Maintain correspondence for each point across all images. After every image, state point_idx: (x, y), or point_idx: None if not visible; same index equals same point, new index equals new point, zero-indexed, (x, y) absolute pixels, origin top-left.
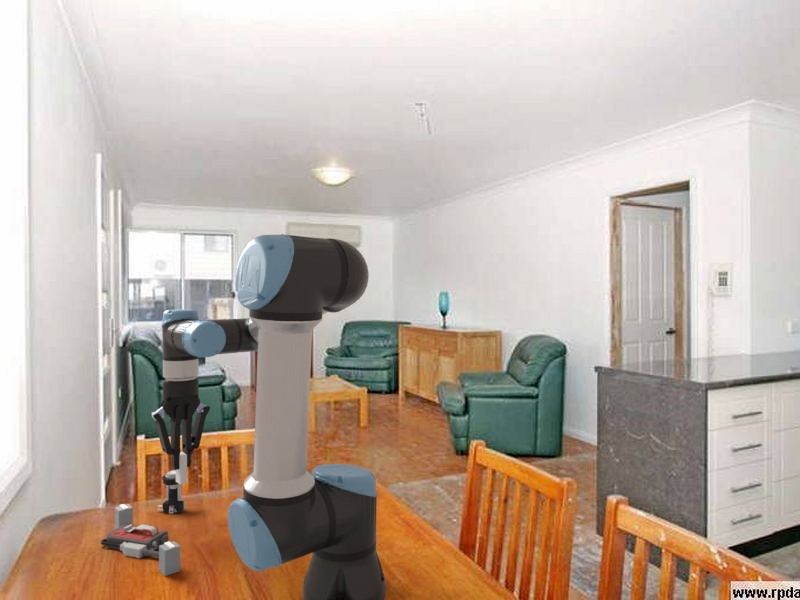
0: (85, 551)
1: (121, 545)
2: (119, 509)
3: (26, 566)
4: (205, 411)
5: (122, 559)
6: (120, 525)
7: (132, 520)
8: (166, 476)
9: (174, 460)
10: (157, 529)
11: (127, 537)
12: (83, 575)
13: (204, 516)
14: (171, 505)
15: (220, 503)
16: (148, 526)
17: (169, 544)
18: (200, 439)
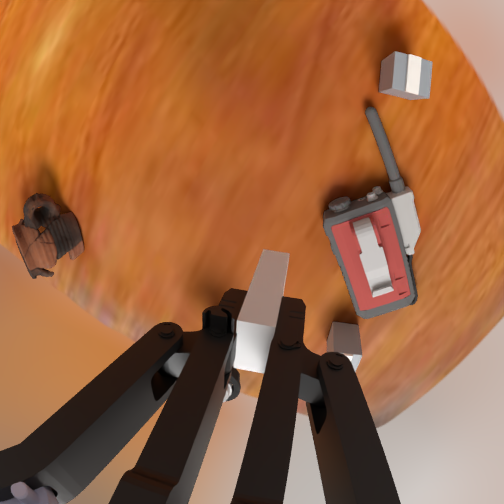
0: (436, 298)
1: (413, 249)
2: (355, 361)
3: (498, 314)
4: (5, 471)
5: (426, 212)
6: (356, 333)
7: (333, 332)
8: (229, 391)
9: (302, 327)
10: (351, 227)
11: (400, 258)
12: (490, 212)
13: (198, 263)
14: None
15: (147, 291)
16: (363, 249)
17: (414, 73)
18: (129, 349)
